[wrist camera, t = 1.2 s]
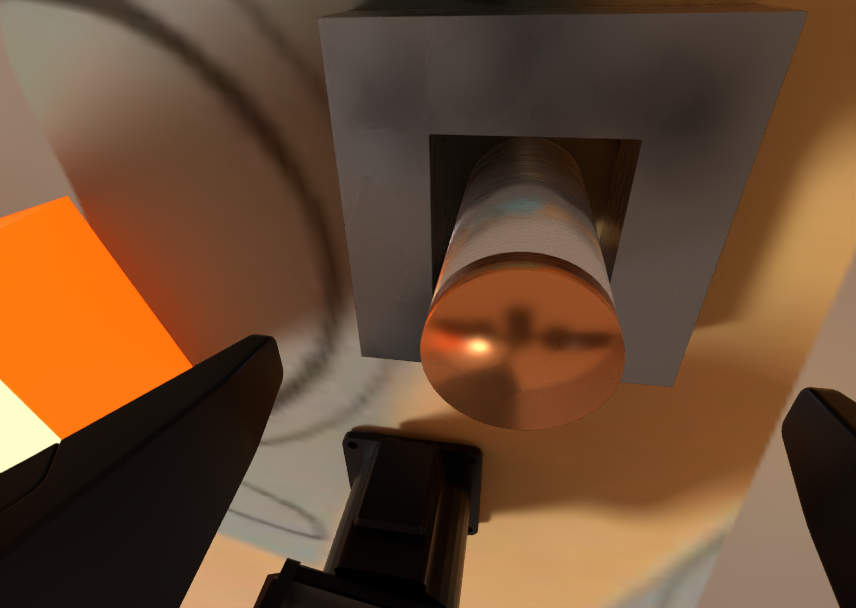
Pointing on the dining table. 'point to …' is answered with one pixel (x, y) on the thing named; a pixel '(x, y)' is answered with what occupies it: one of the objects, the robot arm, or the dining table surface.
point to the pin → (524, 296)
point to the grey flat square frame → (553, 117)
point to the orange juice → (69, 332)
